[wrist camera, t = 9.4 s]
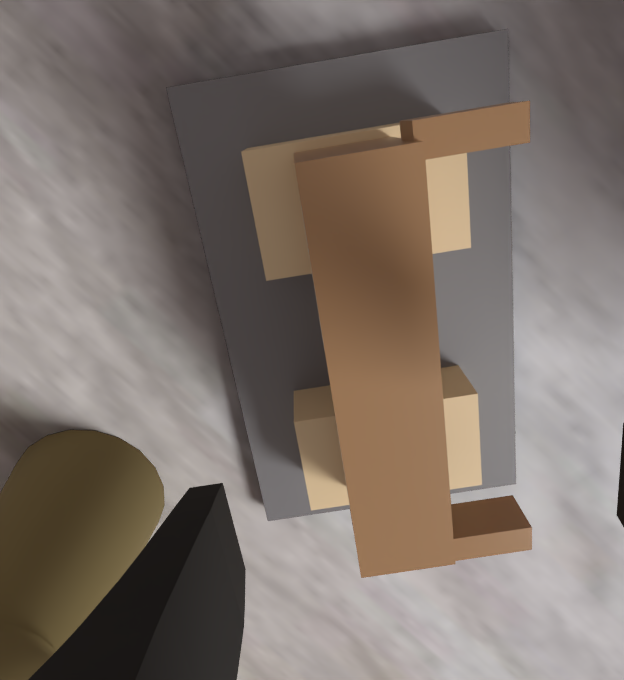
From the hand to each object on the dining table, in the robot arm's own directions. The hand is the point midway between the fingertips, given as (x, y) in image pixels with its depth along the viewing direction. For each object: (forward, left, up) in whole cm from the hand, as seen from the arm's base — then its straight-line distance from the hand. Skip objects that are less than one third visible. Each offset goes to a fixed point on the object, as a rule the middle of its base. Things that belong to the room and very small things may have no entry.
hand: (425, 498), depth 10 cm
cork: (+12, +6, -11) cm, 17 cm away
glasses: (-1, 0, -7) cm, 7 cm away
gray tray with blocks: (0, 0, -10) cm, 10 cm away
